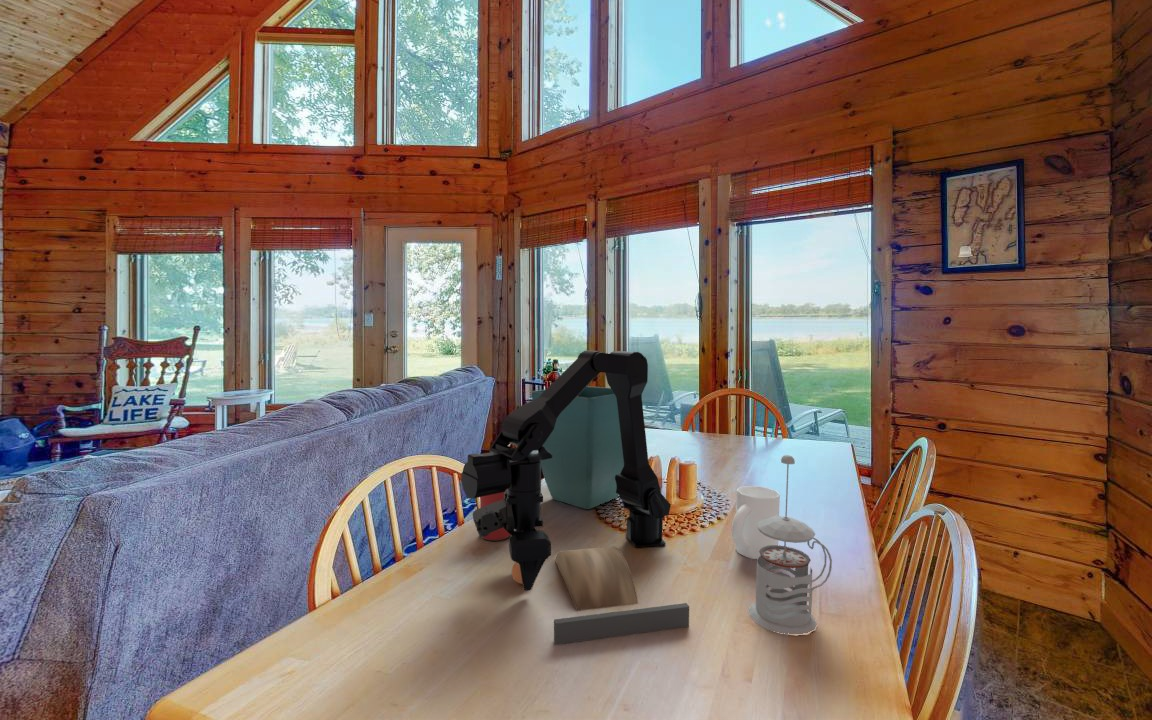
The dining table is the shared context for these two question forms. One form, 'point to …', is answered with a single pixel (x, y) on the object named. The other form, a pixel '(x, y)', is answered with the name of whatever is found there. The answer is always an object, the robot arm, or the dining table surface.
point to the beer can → (499, 533)
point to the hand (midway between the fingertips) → (523, 576)
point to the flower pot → (585, 450)
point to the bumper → (620, 623)
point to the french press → (785, 575)
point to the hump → (597, 577)
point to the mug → (753, 519)
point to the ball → (517, 573)
